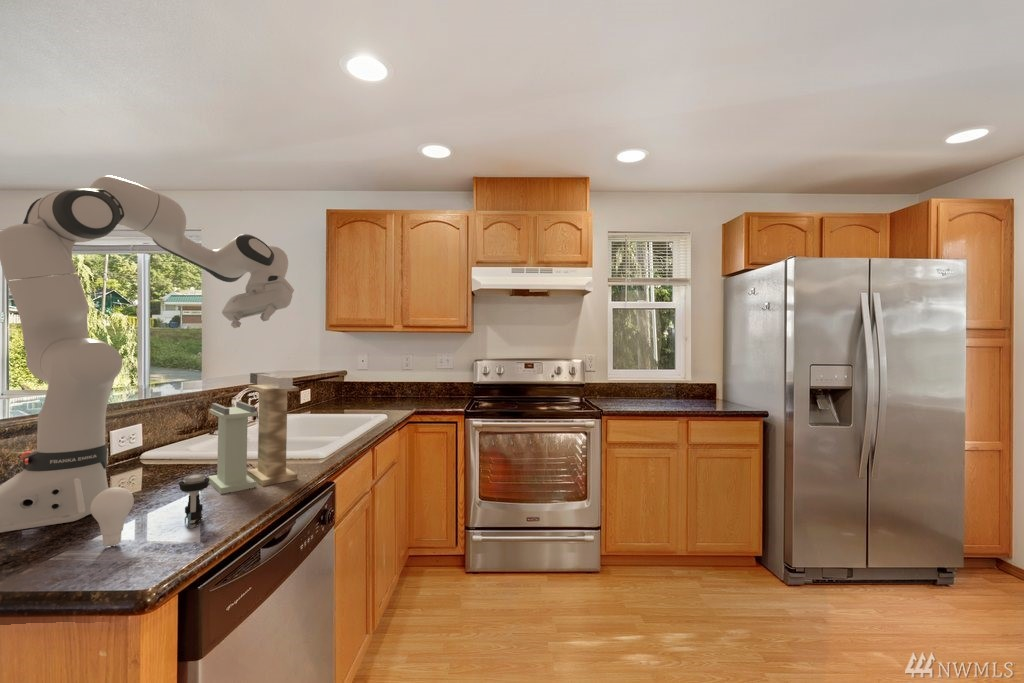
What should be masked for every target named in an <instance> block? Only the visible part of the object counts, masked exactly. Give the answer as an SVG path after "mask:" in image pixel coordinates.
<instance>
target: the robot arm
mask: <svg viewBox="0 0 1024 683" xmlns="http://www.w3.org/2000/svg"><path fill="white" fill-rule="evenodd" d="M22 222H23V223H19V224H15V225H12V226H11V225H10V226H8V227H6V228H4V229H2V230H1V231H0V266H1V269H2V272H3V276H4V278H5V281H6V284H7V285H8V289H9V291H10V292H9V293H10V294H11V297H12V299H13V300H12V301H13V302H14V305H15V307H16V311H17V313H18V316H19V320H20V325H21V330H22V337H23V345H24V349H25V354H26V358H25V363H26V368H27V369H28V370H29V372H30V373H31V374H32V375H33V376H34V377H35V378H36V379H38V380H40V381H41V382H44V383H46V384H48V386H47V391H46V394H45V397H44V402H43V405H42V407H41V409H40V411H39V413H38V414H37V429H36V430H37V431H36V432H37V434H36V437H37V438H36V450H35V451H31V450H27V451H24V452H23V453H21V455H20V460H21V461H22V471H20V472H18V473H17V474H16V475H14V476H13V477H11V478H9V479H8V480H6V481H5V482H3V483H2V484H0V533H6V532H12V531H20V530H25V529H32V528H38V527H39V528H40V527H45V526H51V525H57V524H63V523H65V524H66V523H71V522H75V521H78V520H81V519H83V518H85V517H86V516H89V515H92V514H91V510H90V506H91V503H92V501H93V499H94V498H95V497H96V496H97V495H98V494H99V493H100V492H102V491H104V490H106V489H109V488H110V487H109V484H108V479H107V478H108V477H107V467H108V464H109V447H108V444H107V443H106V424H107V423H106V419H107V409H108V404H109V400H110V397H111V394H112V390H113V386H114V382H115V379H116V377H117V376H118V375H119V374H120V372H121V370H122V369H123V368H122V367H123V358H122V355H121V353H120V352H119V350H117V349H116V348H115V347H114V346H113V345H111V344H110V343H106V342H105V341H103V340H100V339H97V338H90V336H89V329H88V327H89V326H88V313H89V310H90V307H89V303H88V300H87V297H86V294H85V291H84V289H83V286H82V283H81V279H80V277H79V275H78V274H79V273H78V272H77V269H76V266H75V263H74V261H73V254H72V253H73V247H74V245H75V244H76V243H86V242H91V241H94V240H96V239H97V240H98V239H101V238H103V237H106V236H107V235H110V233H111V232H113V231H114V229H116V227H117V225H119V226H120V225H121V226H124V227H127V228H128V229H129V228H130V229H131V230H133V231H136V232H140V233H141V234H144V235H146V236H148V237H149V238H151V239H152V242H154V243H155V245H157V246H158V247H160V248H161V249H162V250H164V251H166V252H168V253H169V254H171V255H174V256H176V257H177V258H180V259H182V260H184V261H185V262H187V263H190V264H192V265H194V266H196V267H198V268H201V269H202V270H204V271H206V272H207V273H209V274H210V275H211V276H213V277H214V278H216V279H217V280H219V281H222V282H226V283H234V282H236V281H238V280H240V279H241V278H242V277H243V276H244V275H246V274H247V273H250V274H249V275H250V276H249V279H248V281H247V283H246V285H245V292H244V293H239V294H236V295H235V294H234V295H233V296H231V297H230V298H228V301H227V303H226V304H225V306H224V307H223V309H222V311H221V314H222V316H224V317H225V318H226V319H227V320H228V321H230V322H231V324H230V325H231V327H232V328H234V329H238V328H240V327H241V325H242V323H241V322H240V320H241V319H244V318H249V317H253V316H259V315H260V316H259V317H260V320H261V321H262V322H267V321H269V320H270V318H271V316H273V314H275V312H276V311H278V310H282V309H286V308H287V307H289V306H290V304H291V303H292V302H291V301H292V299H293V293H294V291H295V290H294V287H293V286H292V285H291V284H290V282H289V281H288V280H286V275H287V272H288V267H289V258H288V255H287V254H286V252H285V251H284V250H283V249H281V248H280V247H278V246H274V245H267V243H265V242H264V241H263V240H261V239H260V238H259V237H256V236H255V235H252V234H247V233H243V234H242V233H240V234H239V235H237V236H236V237H235V238H233V239H231V240H229V242H228V243H226V244H225V245H223V246H222V247H220V248H217V249H210V248H208V247H205V246H204V245H202V244H199V243H197V242H195V241H194V240H192V239H190V238H188V237H187V236H186V235H185V233H186V232H185V231H186V226H187V216H186V214H185V211H184V209H183V207H182V206H181V205H180V204H179V203H178V202H177V201H175V200H174V199H172V198H170V197H169V196H167V195H164V194H162V193H160V192H157V191H155V190H154V189H151V188H148V187H147V186H144V185H142V184H139V183H136V182H133V181H130V180H127V179H124V178H121V177H117V176H115V175H114V176H113V175H103V176H100V177H98V178H97V179H96V180H94V181H93V182H92V183H91V185H90V187H89V188H72V189H65V190H64V191H55V192H52V193H49V194H46V195H44V196H43V197H40V198H38V199H36V200H34V202H32V203H31V205H30V206H29V208H28V209H27V211H26V215H25V218H24V221H22Z"/></svg>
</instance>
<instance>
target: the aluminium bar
mask: <svg viewBox="0 0 1024 683" xmlns="http://www.w3.org/2000/svg"><path fill="white" fill-rule="evenodd" d="M249 376H250V377H249V383H250V384H252V385H262V386H266V387H271V388H275V389H292V387H293V386H294V385H293V384H294V383H293V382H294V379H293V377H291V376H285V375H280V374H279V375H278V374H272V373H267V372H250V373H249Z"/></svg>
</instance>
